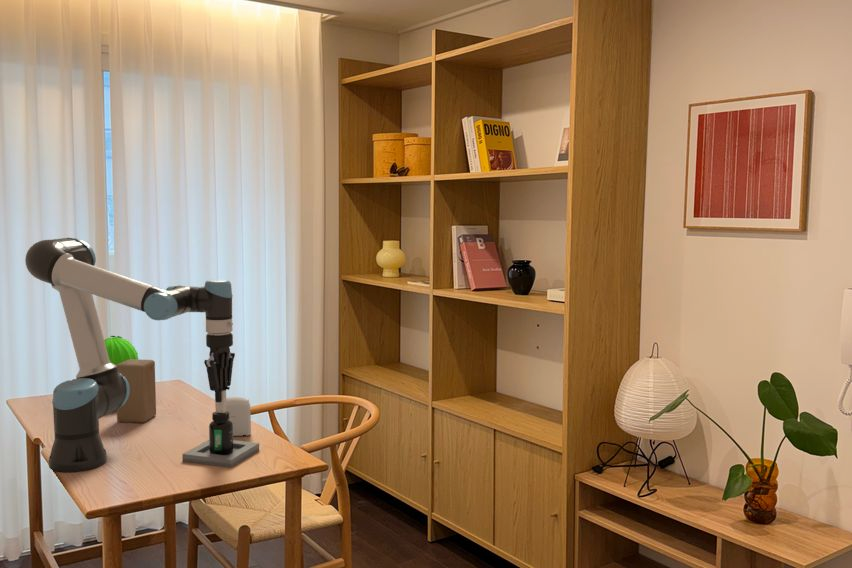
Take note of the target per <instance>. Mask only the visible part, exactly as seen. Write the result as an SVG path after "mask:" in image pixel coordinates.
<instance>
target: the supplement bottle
mask: <svg viewBox="0 0 852 568" xmlns="http://www.w3.org/2000/svg"><path fill="white" fill-rule="evenodd" d="M211 415H212V417H211V419H212V421H211V422H210V423H209V425H208V435H209V436H208V437H209V439H208V440H209V448H210V453H211V454H217V455H228V454H230V453H232V452H233V440H234V436H233V423H232V422H231V421H230V420H229V412H228V411H226V412H225V413H218V412H216V411H213V412H212V414H211Z"/></svg>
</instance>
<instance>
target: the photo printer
mask: <svg viewBox="0 0 852 568" xmlns="http://www.w3.org/2000/svg"><path fill="white" fill-rule="evenodd" d="M226 411H228V412H229V420H230V421H231V422H232V423H233V437H240V436H243V435H246V436H250V435H251V434H252V426H251V425H252V421H251V418H252V417H251V416H252V415H251V414H252V413H251V404H250V400H249V399H248V398H246V397H239V396H238V397H237V396H231V397H226ZM249 434H250V435H249Z"/></svg>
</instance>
